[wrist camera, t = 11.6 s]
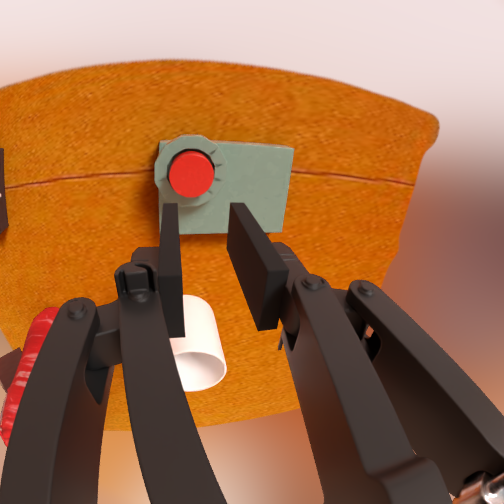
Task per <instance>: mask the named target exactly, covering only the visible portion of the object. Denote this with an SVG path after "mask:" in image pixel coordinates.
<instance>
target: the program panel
mask: <svg viewBox="0 0 504 504" xmlns="http://www.w3.org/2000/svg"><path fill="white" fill-rule="evenodd" d="M7 227H8V218H7V209H6V199H5V186H4V149H3V148H1V149H0V234H1V233H2V232H3V231H4V230H5V229H6V228H7Z"/></svg>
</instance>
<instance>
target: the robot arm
mask: <svg viewBox="0 0 504 504" xmlns="http://www.w3.org/2000/svg"><path fill="white" fill-rule="evenodd" d="M227 251H228V253H229V256H230V259H231V261H232V264H233V267H234V270H235V272H236V275H237V277H238V280H239V283H240V285H241V288H242V291H243V293H244V296H245V299H246V301H247V304H248V306H249V309H250V312H251V314H252V317H253V319H254V322H255V325H256V327H257V330H258V331H263V330H272V329H277V326H278V321H279V318H280V320H281V322H282V324H283V329H282V333H281V337H280V341H279V345H278V350H281V348H282V344H284V348H285V351H286V355H287V359H288V362H289V366H290V370H291V373H292V377H293V381H294V384H295V388H296V392H297V396H298V399H299V403H300V407H301V411H302V414H303V418H304V422H305V426H306V429H307V433H308V436H309V441H310V444H311V448H312V452H313V456H314V459H315V463H316V467H317V471H318V475H319V479H320V482H321V486H322V490H323V494H324V504H504V416H503V415H502V414H501V412H500V411H499V410H498V409H497V408H496V407H495V405H494V404H493V403H492V402H491V401H490V400H489V399H488V397H487V396H486V395H485V394H484V393H483V392H482V391H481V389H480V388H479V387H478V386H477V385H476V384H475V383H474V382H473V381H472V380H471V378H470V377H469V376H468V375H467V374H466V373H465V372H464V371H463V370H462V369H461V368H460V367H459V366H458V364H457V363H455V361H454V360H453V359H452V358H451V357H450V356H449V355H448V354H447V353H446V352H445V351H444V350H443V349H442V348H441V347H440V346H439V345H438V344H437V343H436V342H435V341H434V340H433V339H432V338H431V337H430V336H429V335H428V334H427V333H426V332H425V331H424V330H423V329H422V328H421V327H420V326H419V325H418V324H417V323H416V322H415V321H414V320H413V319H412V318H411V317H410V316H409V315H408V314H406V312H404V311H403V310H402V309H401V308H400V307H399V306H398V305H397V304H396V303H395V302H394V301H393V300H392V299H390V298H389V297H388V296H387V295H386V294H385V293H384V292H383V291H382V290H381V289H380V288H379V287H377V286H376V285H375V284H373V283H371V282H369V281H366V280H355V281H352V282H351V284H350V285H349V288H348V290H341V289H333V288H331V287H330V285H329V283H328V282H327V281H326V280H325V279H323V278H322V277H320V276H317V275H314V274H309V272H308V271H307V270H306V268H305V267H304V266H303V264H302V263H301V262H300V260H298V258H297V256H296V255H294V253H293V251H292V250H291V249H290V247H288V246H286V245H285V244H283V243H282V242H274V243H271V241H270V240H269V238H268V237H267V235H266V234H265V232H264V231H263V229H262V228H261V226H260V225H259V224H258V222H257V221H256V219H255V218H254V216H253V215H252V213H251V212H250V210H249V209H248V207H247V206H246V205H245V203H238V202H230V210H229V223H228V236H227ZM114 277H115V282H116V287H117V292H118V299H117V300H116V301H114V302H112V303H109V304H106V305H102V306H98V307H96V305H95V303H94V302H93V301H92V300H90V299H88V298H84V297H81V298H74V299H71V300H69V301H67V302H66V303H64V304H63V305H62V306H61V308H60V309H59V311H58V313H57V315H56V317H55V319H54V321H53V323H52V325H51V327H50V329H49V331H48V333H47V335H46V337H45V340H44V342H43V344H42V346H41V348H40V351H39V353H38V355H37V358H36V360H35V363H34V365H33V368H32V370H31V373H30V375H29V378H28V380H27V383H26V386H25V389H24V391H23V394H22V397H21V400H20V403H19V406H18V410H17V413H16V416H15V420H14V423H13V427H12V430H11V434H10V438H9V442H8V447H7V451H6V456H5V461H4V466H3V472H2V478H1V485H0V504H97V498H98V478H99V465H100V455H101V445H102V437H103V429H104V422H105V416H106V409H107V403H108V398H109V392H110V387H111V381H112V376H113V372H114V365H117V364H120V363H122V367H123V376H124V384H125V392H126V399H127V405H128V411H129V417H130V423H131V428H132V433H133V438H134V443H135V448H136V452H137V456H138V461H139V465H140V468H141V472H142V476H143V479H144V483H145V487H146V490H147V493H148V497H149V500H150V503H151V504H227V502H226V500H225V498H224V496H223V493H222V491H221V489H220V486H219V484H218V482H217V480H216V477H215V475H214V472H213V470H212V468H211V465H210V463H209V460H208V458H207V455H206V453H205V450H204V448H203V445H202V442H201V439H200V437H199V434H198V432H197V428H196V426H195V423H194V420H193V417H192V414H191V411H190V408H189V405H188V402H187V399H186V396H185V392H184V389H183V386H182V382H181V379H180V376H179V372H178V369H177V365H176V362H175V358H174V354H173V351H172V347H171V343H170V339H169V338H184V337H185V322H184V306H183V285H182V268H181V254H180V239H179V220H178V203H163V209H162V220H161V231H160V244H159V247H138V248H137V249H136V250H135V251H134V252H133V253H132V257H131V262H129V263H126V264H123V265H121V266H120V267H119V268H118V269H117V270H116V271H115V274H114ZM369 326H370V327H371V328H372V329H373V330H374V332H373V334H372V335H371V337H369V336H367V335H366V331H367V329H368V327H369ZM413 450H414V451H413ZM414 452H415V453H416V454H417V455H416V454H415V453H414ZM449 493H450V494H452V495H453V496H455V498H454V500H453V501H452V500H451V497H450V495H449Z"/></svg>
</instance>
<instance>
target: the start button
mask: <svg viewBox="0 0 504 504" xmlns="http://www.w3.org/2000/svg"><path fill="white" fill-rule="evenodd" d="M213 179H214V171H213V167H212V165H211V164H210V162H209V160H208V159H207V158H206V157H205V156H204V155H203V154H201V153H199V152H196V151H187V152H184V153H181V154H180V155H178V156H177V157H176V158H175V159H174V160H173V162H172V164H171V166H170V173H169V180H170V184H171V186H172V188H173V189H174V190H175V192H177V193H178V194H179V195H181V196H184V197H197V196H200V195H202V194H204V193H205V192H206V191H207V190H208V189H209V188H210V187H211V185H212V183H213Z"/></svg>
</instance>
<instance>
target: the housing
mask: <svg viewBox="0 0 504 504" xmlns="http://www.w3.org/2000/svg"><path fill="white" fill-rule="evenodd" d="M187 151H196V152H199V153H201V154H203V155H204V156H205V157H206V158H207V159H208V160H209V162H210V164H211V165H212V167H213V171H214V179H213V183H212V185H211V187H210V188H209V189H208V190H207V191H206V192H205V193H204V194H202V195H200V196H197V197H184V196H181V195H179V194H178V193H177V192H175V190H174V189H173V188H172V186H171V184H170V180H169V173H170V166H171V164H172V162H173V160H174V159H175V158H176V157H177V156H178V155H180V154H181V153H184V152H187ZM293 154H294V148H291V147H289V146H285V145H276V144H265V143H252V142H236V141H214V140H209V139H207V138H206V137H204V136H202V135H184V134H183V135H180V136H179V137H177V138H175V139H173V140H161V141H160V143H159V155H158V157H157V159H156V161H155V164H154V182H155V184H156V186H157V187H158V189H159V230H160V231H161V220H162V209H163V203H178V220H179V234H215V233H228V223H229V210H230V202H238V203H245V205H246V206H247V207H248V209H249V210H250V212H251V213H252V215H253V216H254V218H255V219H256V221H257V222H258V224H259V225H260V226H261V228H262V229H263V231H264V232H265V233H274V232H282V226H283V220H284V213H285V207H286V201H287V194H288V188H289V181H290V174H291V168H292V161H293Z"/></svg>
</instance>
